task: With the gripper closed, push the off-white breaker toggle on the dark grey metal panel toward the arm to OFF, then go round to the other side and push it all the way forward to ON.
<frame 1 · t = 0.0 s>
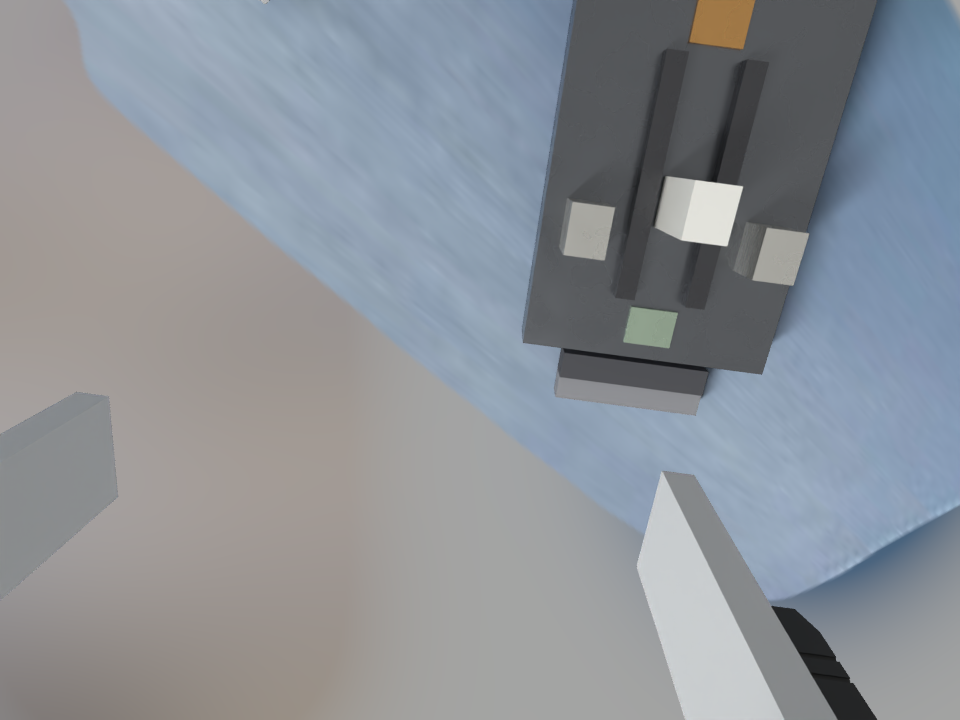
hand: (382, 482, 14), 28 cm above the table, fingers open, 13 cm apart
panel: (669, 184, 38), on the table
narrow gray bar: (628, 365, 42), on the table
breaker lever: (693, 208, 33), point 6 cm above the table, slide at 1.0 cm
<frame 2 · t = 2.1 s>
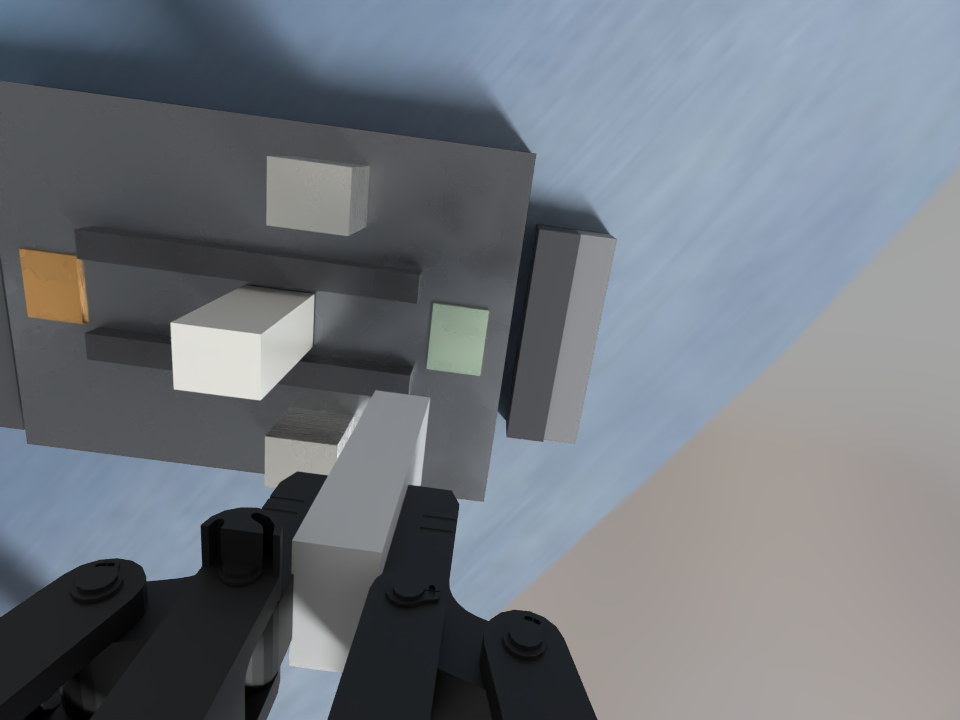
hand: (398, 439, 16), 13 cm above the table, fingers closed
dark gray bar: (17, 301, 29), on the table
panel: (281, 297, 28), on the table
narrow gray bar: (538, 331, 29), on the table
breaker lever: (251, 336, 23), point 6 cm above the table, slide at 1.0 cm
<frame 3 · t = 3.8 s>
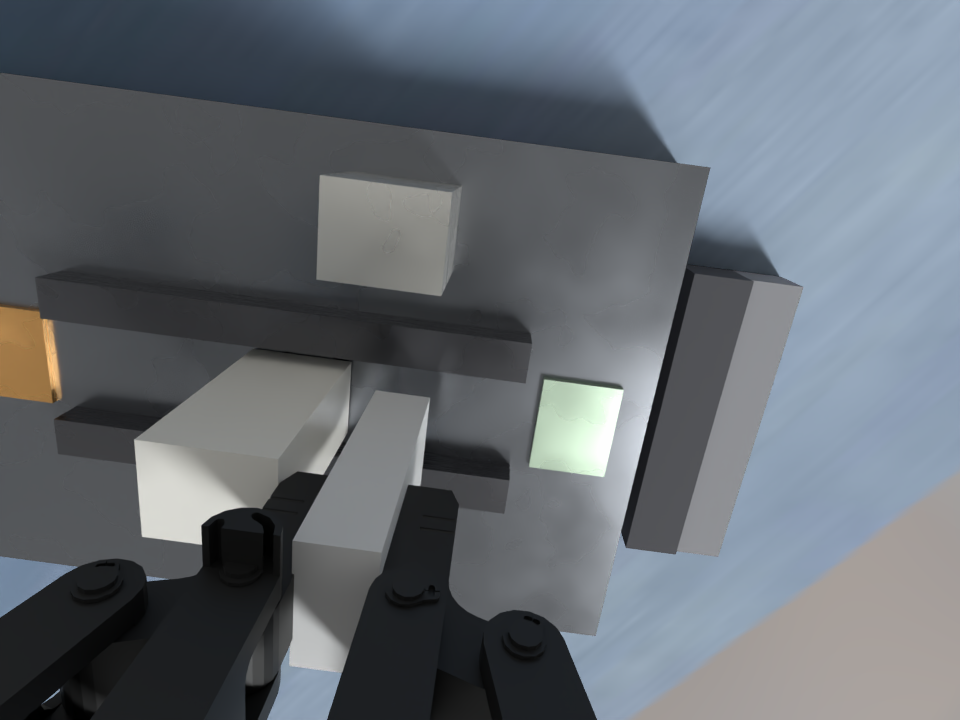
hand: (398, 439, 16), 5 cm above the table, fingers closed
panel: (322, 357, 21), on the table
narrow gray bar: (670, 404, 21), on the table
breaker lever: (263, 435, 15), point 6 cm above the table, slide at 0.3 cm, touching gripper
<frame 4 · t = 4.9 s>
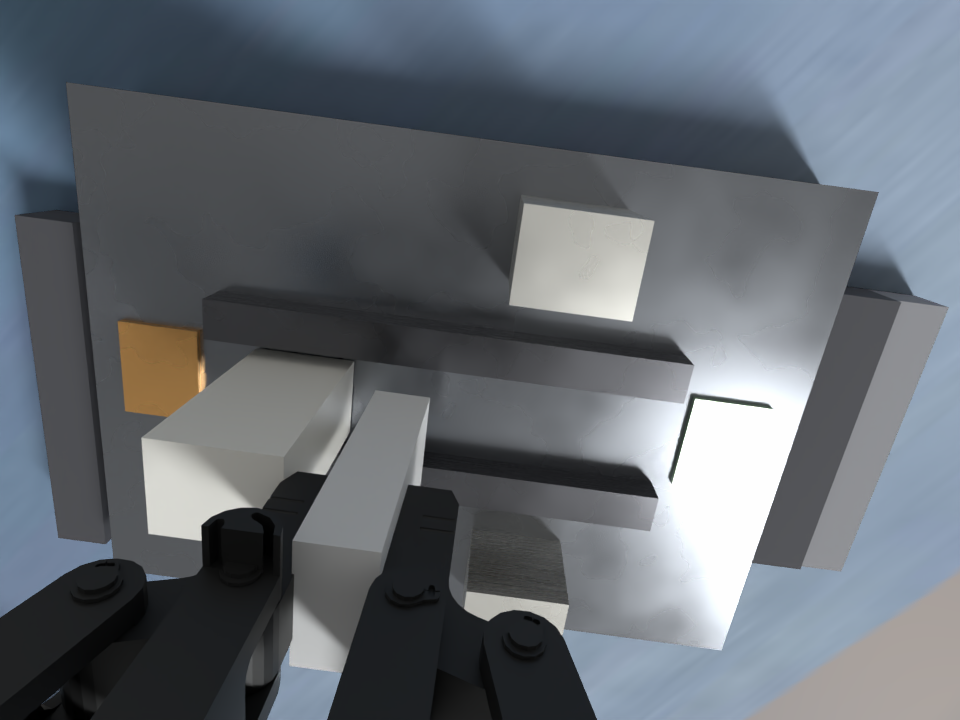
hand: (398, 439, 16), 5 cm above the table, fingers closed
dark gray bar: (98, 377, 22), on the table
panel: (450, 374, 21), on the table
narrow gray bar: (794, 420, 21), on the table
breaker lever: (267, 433, 15), point 6 cm above the table, slide at -4.3 cm, touching gripper
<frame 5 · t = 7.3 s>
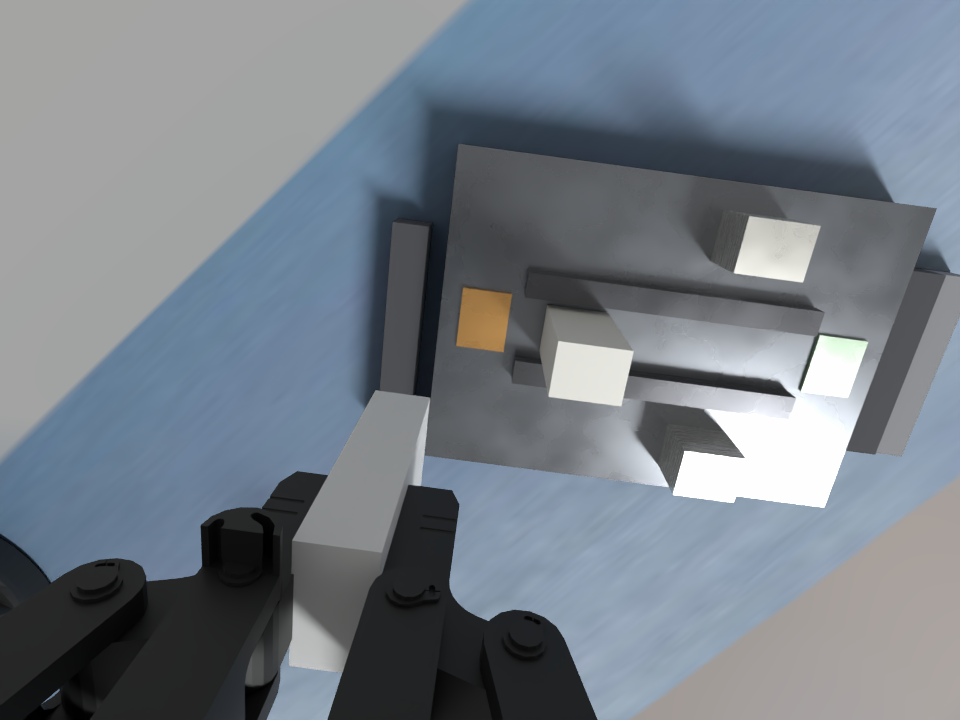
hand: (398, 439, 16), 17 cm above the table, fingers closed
dark gray bar: (405, 329, 33), on the table
panel: (644, 326, 32), on the table
narrow gray bar: (871, 356, 32), on the table
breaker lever: (580, 350, 26), point 6 cm above the table, slide at -4.3 cm
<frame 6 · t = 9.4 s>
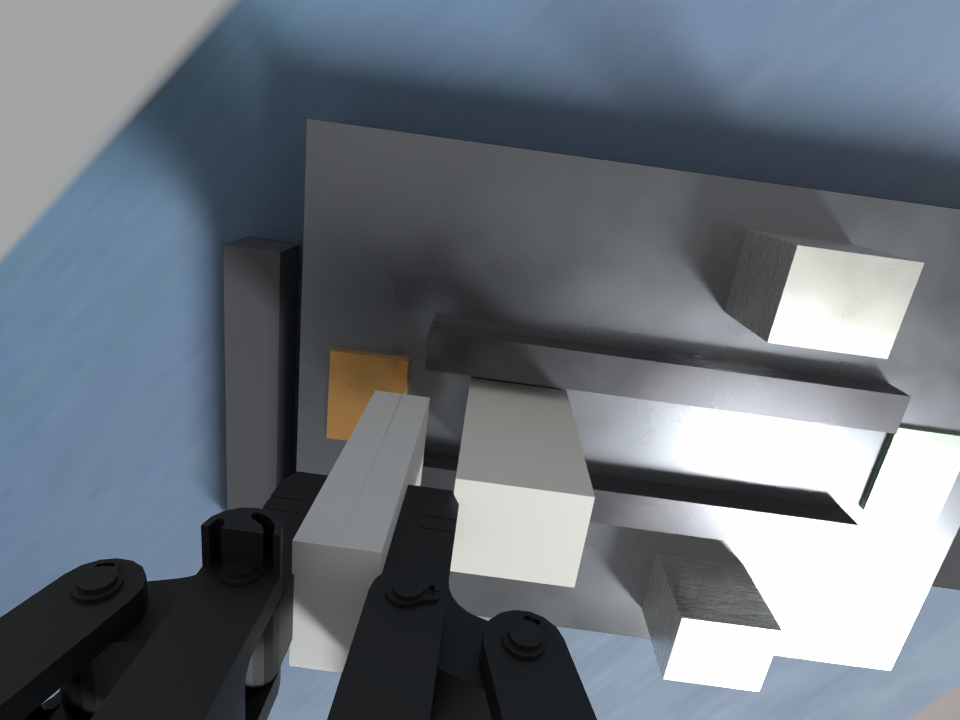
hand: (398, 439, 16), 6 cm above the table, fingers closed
dark gray bar: (270, 400, 22), on the table
panel: (623, 398, 22), on the table
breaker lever: (514, 466, 16), point 6 cm above the table, slide at -4.1 cm, touching gripper
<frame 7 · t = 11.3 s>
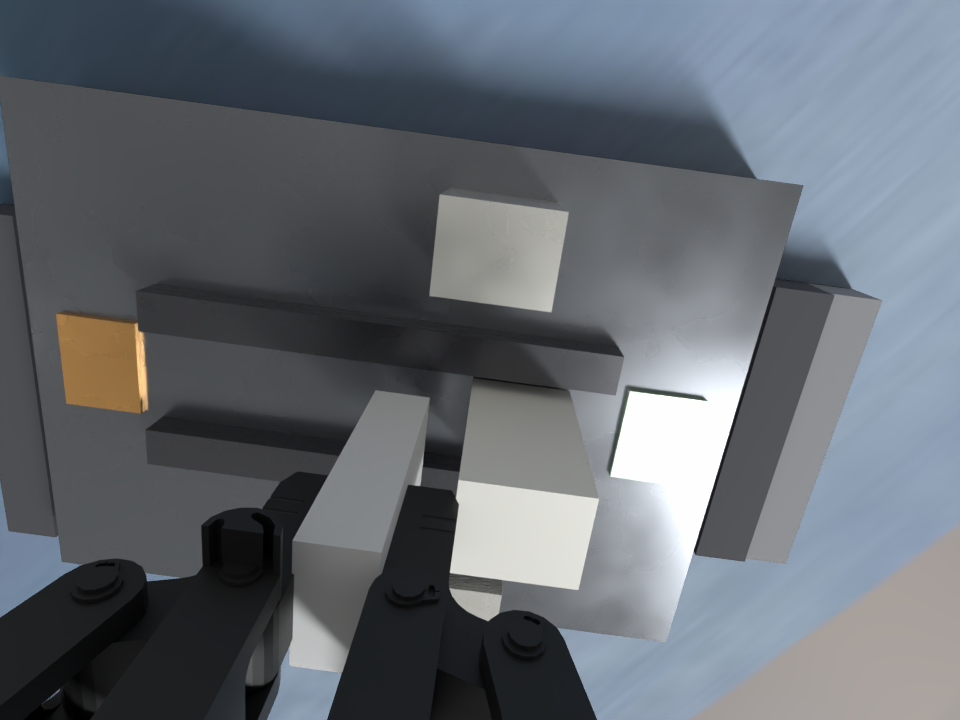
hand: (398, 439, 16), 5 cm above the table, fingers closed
dark gray bar: (48, 370, 22), on the table
panel: (396, 367, 21), on the table
narrow gray bar: (739, 413, 21), on the table
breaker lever: (517, 467, 16), point 6 cm above the table, slide at 4.3 cm, touching gripper
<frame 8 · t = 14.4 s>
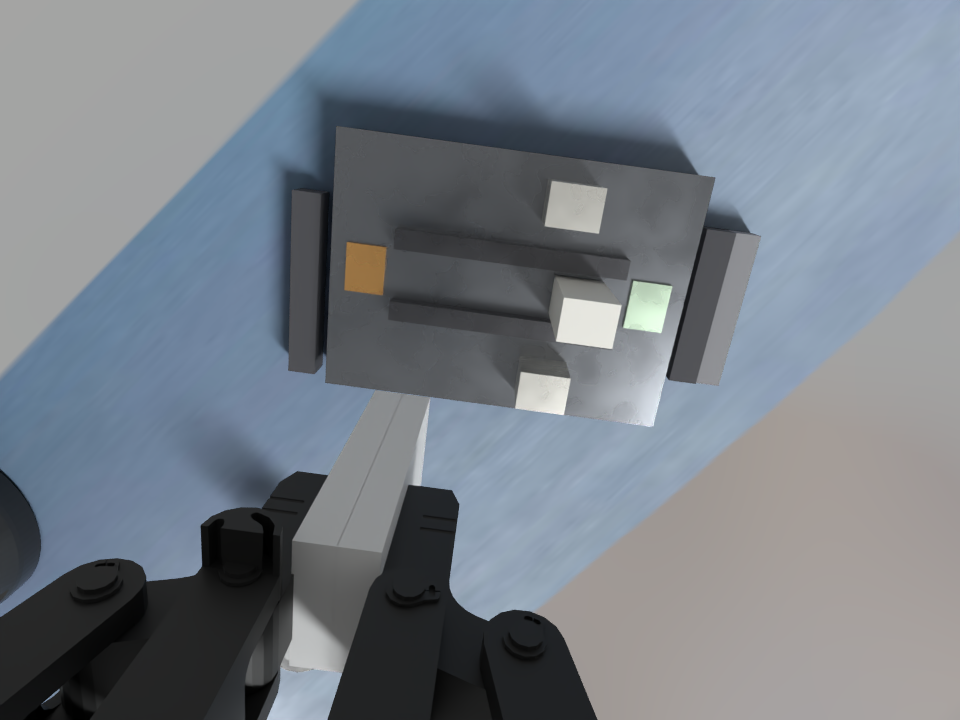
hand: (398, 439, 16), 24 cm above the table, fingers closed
dark gray bar: (312, 281, 40), on the table
panel: (506, 277, 39), on the table
narrow gray bar: (692, 303, 39), on the table
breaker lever: (581, 309, 33), point 6 cm above the table, slide at 4.3 cm
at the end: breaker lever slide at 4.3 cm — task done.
